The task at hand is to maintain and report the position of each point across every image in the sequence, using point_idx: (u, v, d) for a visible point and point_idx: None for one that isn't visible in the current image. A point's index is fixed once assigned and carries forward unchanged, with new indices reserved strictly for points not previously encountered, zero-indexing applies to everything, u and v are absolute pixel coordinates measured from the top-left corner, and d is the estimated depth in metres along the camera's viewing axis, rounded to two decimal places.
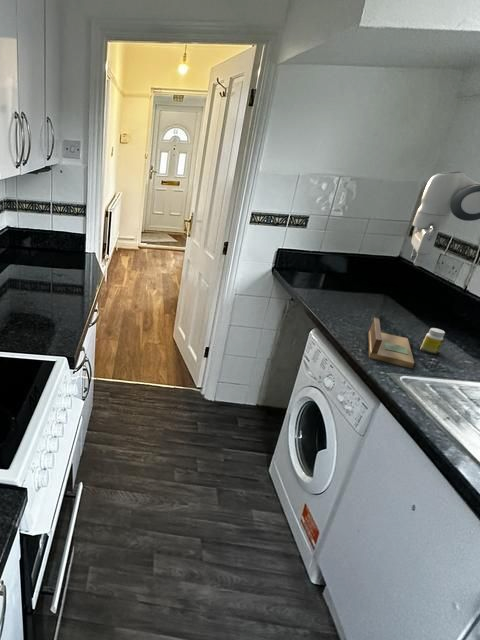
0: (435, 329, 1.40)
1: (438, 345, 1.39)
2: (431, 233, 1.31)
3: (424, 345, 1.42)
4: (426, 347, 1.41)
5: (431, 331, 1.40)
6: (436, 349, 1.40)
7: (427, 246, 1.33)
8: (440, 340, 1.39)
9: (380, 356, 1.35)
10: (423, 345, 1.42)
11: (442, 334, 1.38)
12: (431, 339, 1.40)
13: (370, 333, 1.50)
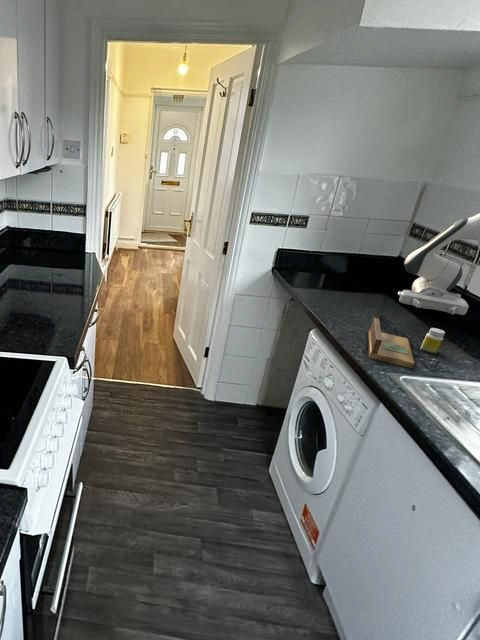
0: (435, 329, 1.40)
1: (438, 345, 1.39)
2: (398, 292, 1.61)
3: (424, 345, 1.42)
4: (426, 347, 1.41)
5: (431, 331, 1.40)
6: (436, 349, 1.40)
7: (400, 295, 1.58)
8: (440, 340, 1.39)
9: (380, 356, 1.35)
10: (423, 345, 1.42)
11: (442, 334, 1.38)
12: (431, 339, 1.40)
13: (370, 333, 1.50)
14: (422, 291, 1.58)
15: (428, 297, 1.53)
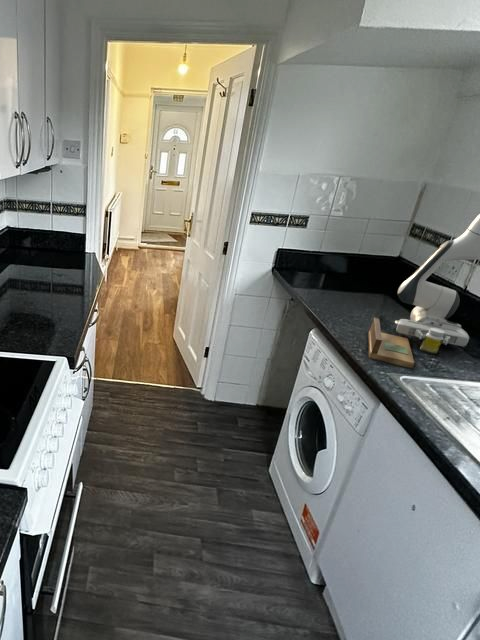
0: (435, 329, 1.40)
1: (438, 345, 1.39)
2: (395, 321, 1.54)
3: (423, 345, 1.42)
4: (426, 347, 1.41)
5: (431, 331, 1.40)
6: (436, 349, 1.40)
7: (397, 325, 1.51)
8: (440, 340, 1.39)
9: (380, 356, 1.35)
10: (423, 345, 1.42)
11: (442, 334, 1.38)
12: (431, 339, 1.40)
13: (370, 333, 1.50)
14: (420, 320, 1.51)
15: (426, 327, 1.46)
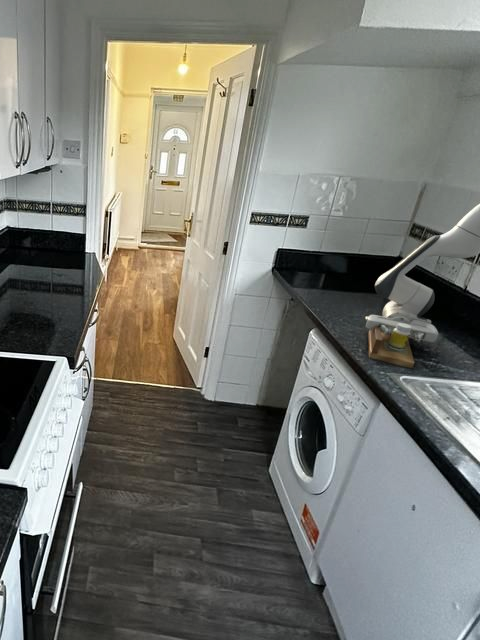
0: (402, 324, 1.37)
1: (405, 340, 1.36)
2: (365, 317, 1.51)
3: (391, 340, 1.39)
4: (393, 343, 1.38)
5: (398, 326, 1.37)
6: (403, 344, 1.37)
7: (367, 321, 1.47)
8: (407, 335, 1.35)
9: (380, 356, 1.35)
10: (390, 340, 1.39)
11: (409, 329, 1.35)
12: (398, 334, 1.36)
13: (370, 333, 1.50)
14: (390, 316, 1.47)
15: (396, 323, 1.42)
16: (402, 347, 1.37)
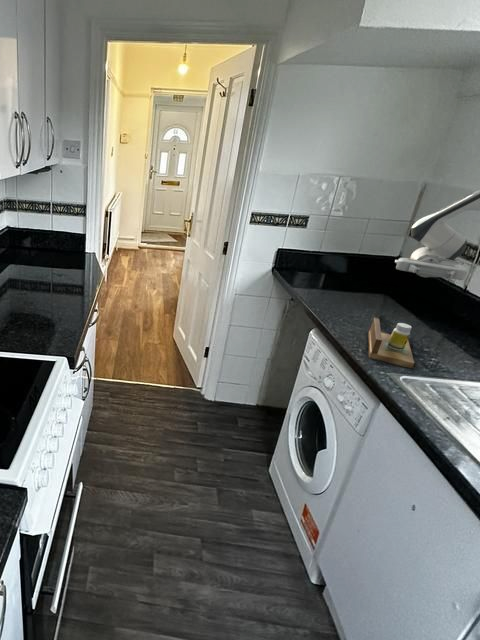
0: (402, 324, 1.37)
1: (405, 340, 1.36)
2: (395, 261, 1.57)
3: (391, 340, 1.39)
4: (393, 343, 1.38)
5: (398, 326, 1.37)
6: (403, 344, 1.37)
7: (397, 263, 1.54)
8: (407, 335, 1.35)
9: (380, 356, 1.35)
10: (390, 340, 1.39)
11: (409, 329, 1.35)
12: (398, 334, 1.36)
13: (370, 333, 1.50)
14: (420, 258, 1.54)
15: (426, 263, 1.49)
16: (402, 347, 1.37)
